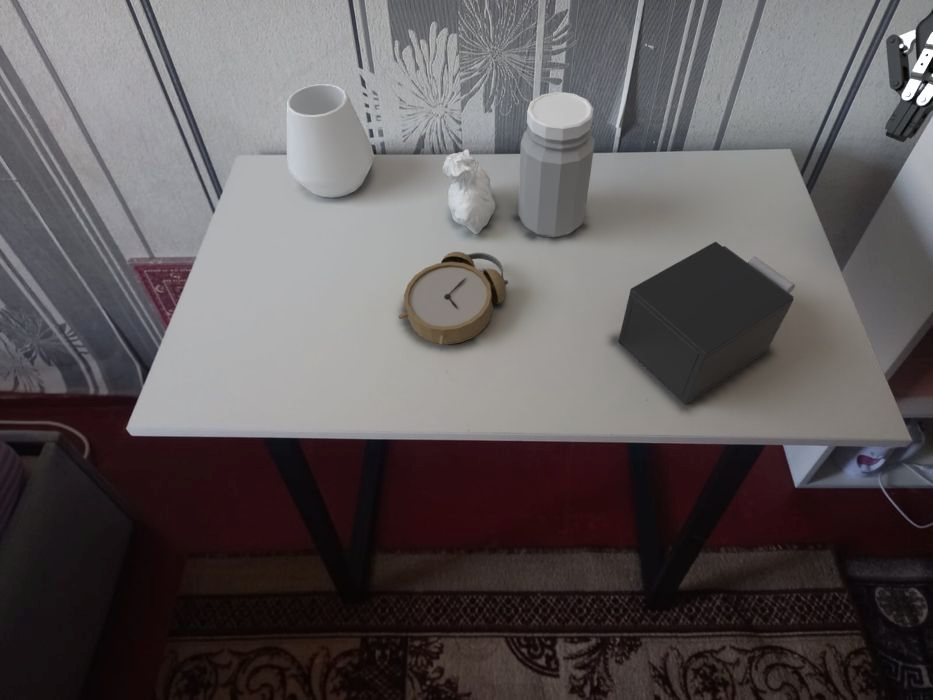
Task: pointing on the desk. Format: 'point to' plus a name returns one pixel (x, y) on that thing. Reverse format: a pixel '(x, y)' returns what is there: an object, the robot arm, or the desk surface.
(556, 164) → the jar
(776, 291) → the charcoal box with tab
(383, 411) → the desk surface
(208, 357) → the desk surface
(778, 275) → the drawer
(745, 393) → the desk surface
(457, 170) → the white tied bag
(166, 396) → the desk surface
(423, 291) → the alarm clock
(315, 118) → the white vase
